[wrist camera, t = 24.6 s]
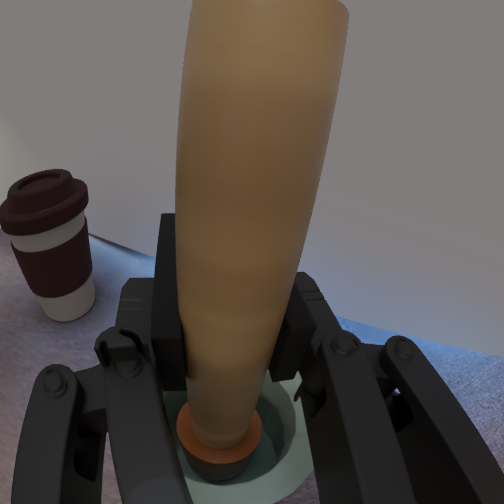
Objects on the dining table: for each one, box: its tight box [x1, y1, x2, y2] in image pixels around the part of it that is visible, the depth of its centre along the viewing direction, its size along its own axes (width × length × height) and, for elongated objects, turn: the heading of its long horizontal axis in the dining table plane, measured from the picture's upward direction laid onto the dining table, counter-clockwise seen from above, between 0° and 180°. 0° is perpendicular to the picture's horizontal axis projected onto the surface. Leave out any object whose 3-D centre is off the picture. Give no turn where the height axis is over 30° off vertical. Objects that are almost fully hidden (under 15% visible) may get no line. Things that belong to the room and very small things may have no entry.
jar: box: [163, 370, 314, 504], centre depth 14 cm, size 10×10×10 cm
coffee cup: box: [0, 169, 95, 322], centre depth 24 cm, size 10×10×15 cm
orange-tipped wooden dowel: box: [175, 0, 349, 481], centre depth 10 cm, size 4×4×22 cm
